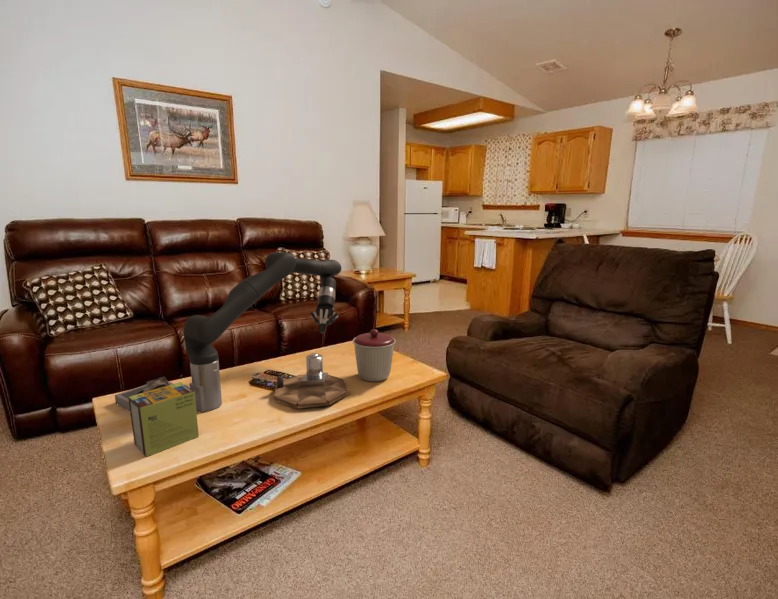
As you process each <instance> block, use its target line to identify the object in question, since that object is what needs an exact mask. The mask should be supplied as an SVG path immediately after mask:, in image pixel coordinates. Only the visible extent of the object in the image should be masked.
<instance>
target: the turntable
mask: <svg viewBox="0 0 778 599" xmlns="http://www.w3.org/2000/svg"><path fill="white" fill-rule="evenodd" d="M304 376H305V374H298V375H294V376H291V377H289V378H287V379H285V380H284V375H278V376H276V384H275V385H274V394H273V398H274V399H273V400H275V402H276V403H277V402H278V403H280V404H283V405H286V406H289V407H292V408H295V409H296V408H298V409H305V408H315V407H316V408H317V407H325V406H327V405H328V406H330V405H331V404H334V403H335V402H337V401H339V400H340V399H342V398H344V397H346V396H347V395H348V393H349V391H348V387H347V384H346V380H345V379H343V378H341V377H338V376H334V375H332V374H331V375H330V374H328V378H327V380H326V382H325V384H324V385H301V380H302V379H303V377H304Z"/></svg>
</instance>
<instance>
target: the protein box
mask: <svg viewBox="0 0 778 599" xmlns="http://www.w3.org/2000/svg"><path fill="white" fill-rule="evenodd" d="M128 399H129V406H130V411H129V412H130V414H129V415H130V419H131V427H132V436H133V442H134V446H136V447H137V449H138V450H139V451H140V452H141V454H143V456H144V457H145V456H146V458H147V457H150V456H152V454H153V455H155V454H157V452H158V453H160V451H161V452H162V451H165V449H166V450H168V449H171V448H174V447H176V446H179V445H181V444H184V443H186V442H188V441H191V440H195V439H196V438H199V437H200V435H199V426H198V425H199V424H198V415H197V414H198V413H197V410H196V402H195V391H194V390H192V389H191V388H190V386H188V385H186V384H184V382H182V381H179V382H176V383H173V384H172V385H169V386H165V387H161V388H158V389H154V390H151V391H148V392H144V393H140V394H137V395H134V396H130V397H128ZM173 446H174V447H173ZM154 453H155V454H154ZM149 455H150V456H149Z"/></svg>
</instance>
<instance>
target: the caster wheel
mask: <svg viewBox="0 0 778 599" xmlns="http://www.w3.org/2000/svg"><path fill="white" fill-rule="evenodd" d="M167 381H168V379H167V377H166V376H162V377H159V378H156V379H152V380H148V381H146V382H145V383H146V384H147V385H148V387H147V388H145V389H144V390H142V391H140V392H139V393H137V394H140V393H144V392H148V391H151V390H154V389H158V388H161V387H165V386H169V384H168V382H169V381H168V382H167ZM137 394H136V395H137Z"/></svg>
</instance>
